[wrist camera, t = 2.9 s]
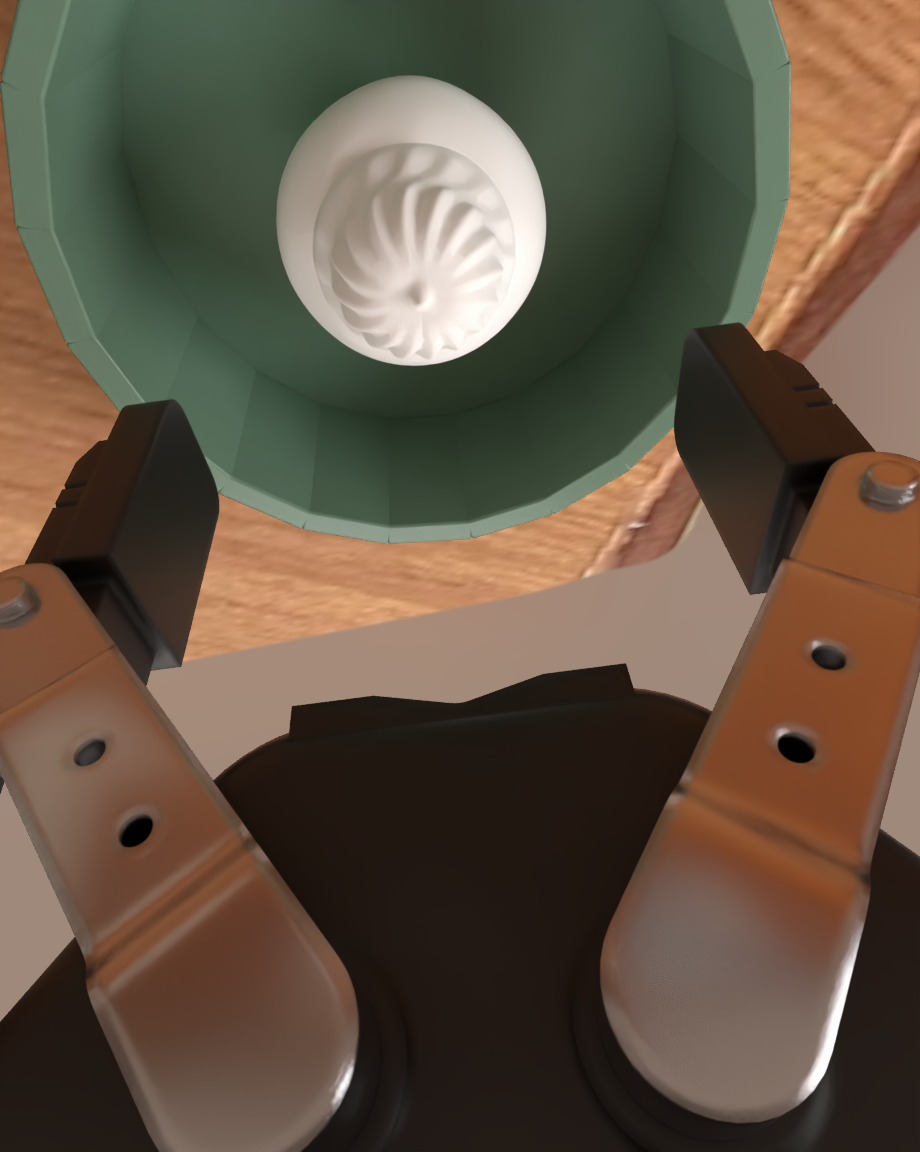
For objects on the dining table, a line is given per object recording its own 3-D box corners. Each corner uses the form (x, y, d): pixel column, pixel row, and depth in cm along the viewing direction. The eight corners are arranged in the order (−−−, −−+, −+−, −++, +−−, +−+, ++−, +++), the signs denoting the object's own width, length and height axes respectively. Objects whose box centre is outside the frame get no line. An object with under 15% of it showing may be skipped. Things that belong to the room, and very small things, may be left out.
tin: (-42, 122, 17) (-169, 204, 13) (475, -551, 11) (530, -771, 7) (378, 501, 27) (379, 617, 23) (779, 236, 21) (875, 327, 17)
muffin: (273, 38, 16) (230, 117, 11) (536, 48, 17) (602, 127, 12) (303, 302, 21) (282, 439, 16) (512, 303, 21) (552, 436, 16)
